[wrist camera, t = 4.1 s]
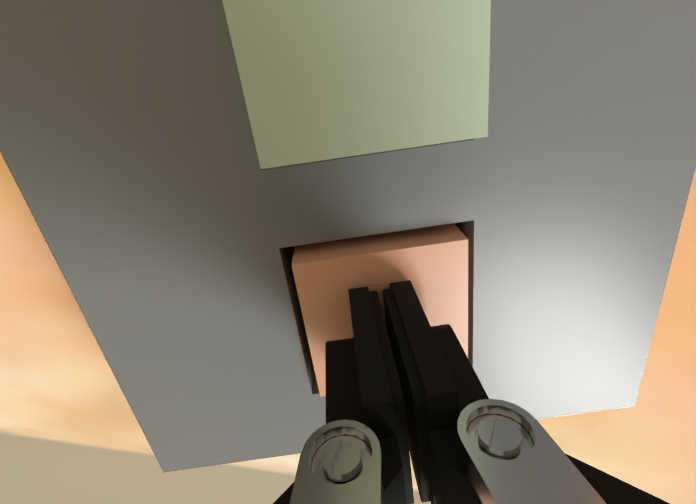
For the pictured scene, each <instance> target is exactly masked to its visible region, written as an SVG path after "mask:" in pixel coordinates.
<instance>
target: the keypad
mask: <svg viewBox="0 0 696 504" xmlns="http://www.w3.org/2000/svg"><path fill="white" fill-rule="evenodd" d="M0 152H1V154H2V156H3V158H4V160H5V162H6V164H7V166H8V168H9V170H10V172H11V173H12V175H13V177H14V179H15V181H16V183H17V185H18V187H19V189H20V191H21V193H22V195H23V197H24V199H25V201H26V203H27V205H28V207H29V209H30V211H31V213H32V215H33V217H34V219H35V221H36V223H37V225H38V227H39V229H40V230H41V232H42V234H43V236H44V238H45V240H46V242H47V244H48V246H49V248H50V250H51V252H52V254H53V256H54V258H55V260H56V262H57V264H58V266H59V268H60V270H61V272H62V274H63V276H64V278H65V280H66V282H67V284H68V285H69V287H70V289H71V291H72V293H73V295H74V297H75V299H76V301H77V303H78V305H79V307H80V309H81V311H82V313H83V315H84V317H85V319H86V321H87V323H88V325H89V327H90V329H91V331H92V333H93V335H94V337H95V339H96V340H97V342H98V344H99V346H100V348H101V350H102V352H103V354H104V356H105V358H106V360H107V362H108V364H109V366H110V368H111V370H112V372H113V374H114V376H115V378H116V380H117V382H118V384H119V386H120V388H121V390H122V392H123V394H124V396H125V397H126V399H127V401H128V403H129V405H130V407H131V409H132V411H133V413H134V415H135V417H136V419H137V421H138V423H139V425H140V427H141V429H142V431H143V433H144V435H145V437H146V439H147V441H148V443H149V445H150V447H151V449H152V451H153V452H154V454H155V456H156V458H157V460H158V462H159V464H160V466H161V468H162V470H163V472H170V471H177V470H184V469H190V468H198V467H205V466H212V465H220V464H227V463H234V462H241V461H248V460H255V459H262V458H269V457H276V456H284V455H291V454H298V453H301V452H302V449H303V447H304V444H305V442H306V441H307V440H308V438H309V437H310V436H311V434H312V433H313V432H315V431H316V430H317V429H319V428H320V427H321V426H323V425H325V424H326V396H322V397H320V393H319V389H318V384H317V380H316V375H315V370H314V366H313V361H312V357H311V352H310V347H309V343H308V338H307V334H306V329H305V324H304V320H303V315H302V311H301V306H300V302H299V297H298V292H297V288H296V283H295V279H294V274H293V269H292V259H293V254H294V248H295V246H298V245H305V244H312V243H319V242H326V241H333V240H340V239H347V238H354V237H361V236H368V235H375V234H382V233H389V232H396V231H403V230H410V229H417V228H424V227H431V226H438V225H445V224H452V223H454V224H455V225H456V226H457V227H458V229H459V230H460V231H461V232H462V233H463V234H464V235H465V236H466V237H467V238H468V359H469V361H470V363H471V365H472V367H473V369H474V371H475V373H476V375H477V376H478V378H479V380H480V382H481V384H482V386H483V388H484V390H485V392H486V394H487V396H488V398H489V399H498V400H504V401H507V402H510V403H513V404H516V405H518V406H519V407H521V408H523V409H525V410H526V411H527V412H529V413H530V414H531V415H532V416H533V417H534V418H535V419H536V420H539V419H546V418H553V417H560V416H567V415H574V414H581V413H588V412H595V411H602V410H610V409H617V408H624V407H631V406H635V403H636V399H637V395H638V391H639V387H640V383H641V379H642V375H643V371H644V367H645V363H646V359H647V355H648V352H649V348H650V344H651V340H652V336H653V332H654V328H655V324H656V320H657V316H658V312H659V308H660V304H661V300H662V297H663V293H664V289H665V285H666V281H667V277H668V273H669V269H670V265H671V261H672V257H673V253H674V249H675V246H676V242H677V238H678V234H679V230H680V226H681V222H682V218H683V214H684V210H685V206H686V202H687V198H688V194H689V191H690V187H691V183H692V179H693V175H694V171H695V167H696V0H491V18H490V62H489V105H488V137H481V138H474V139H468V140H461V141H454V142H447V143H440V144H433V145H426V146H419V147H412V148H405V149H398V150H391V151H384V152H377V153H370V154H364V155H357V156H350V157H343V158H336V159H329V160H322V161H315V162H308V163H301V164H294V165H287V166H280V167H273V168H267V169H261V168H260V163H259V159H258V155H257V150H256V146H255V141H254V137H253V133H252V128H251V124H250V120H249V115H248V111H247V107H246V102H245V98H244V93H243V89H242V85H241V80H240V76H239V72H238V67H237V63H236V58H235V54H234V50H233V45H232V41H231V37H230V32H229V28H228V24H227V19H226V15H225V10H224V6H223V2H222V0H0Z"/></svg>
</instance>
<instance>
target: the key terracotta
mask: <svg viewBox="0 0 696 504" xmlns="http://www.w3.org/2000/svg"><path fill="white" fill-rule="evenodd" d="M292 269H293V274H294V279H295V283H296V288H297V292H298V297H299V302H300V306H301V311H302V315H303V320H304V324H305V329H306V334H307V338H308V343H309V347H310V352H311V357H312V361H313V366H314V370H315V375H316V380H317V384H318V389H319V393H320V397H322V396H326V371H325V344H326V342H327V341H334V340H341V339H348V338H354V335H353V327H352V318H351V310H350V301H349V293H348V289H353V288H360V287H367V286H368V289H369V291H376V290H377V293H378V297H379V301H380V305H381V309H382V313H383V317H384V321H385V325H386V318H385V309H384V299H383V289H390V283H394V282H401V281H408V280H410V281H411V283H412V285H413V287H414V290H415V292H416V294H417V297H418V299H419V301H420V303H421V306H422V308H423V310H424V312H425V315H426V317H427V319H428V322H429V324H430V326H438V325H445V324H449V325H450V326H451V327H452V329H453V331H454V333H455V334H456V336H457V338H458V340H459V342H460V344H461V346H462V348H463V350H464V352H465V354H466V355H467V357H468V238H467V237H466V236H465V235H464V234H463V233H462V232H461V231H460V230H459V229H458V227H457V226H456V225H455V224H454V223H452V224H445V225H438V226H431V227H424V228H417V229H410V230H403V231H396V232H389V233H382V234H375V235H368V236H361V237H354V238H347V239H340V240H333V241H326V242H319V243H312V244H305V245H298V246H295V248H294V254H293V259H292ZM386 329H387V327H386Z"/></svg>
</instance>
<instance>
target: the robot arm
mask: <svg viewBox="0 0 696 504" xmlns="http://www.w3.org/2000/svg"><path fill="white" fill-rule="evenodd" d="M348 293H349V301H350V310H351V318H352V327H353V335H354V338H348V339H341V340H334V341H327V342H326V344H325V371H326V424H325V425H323V426H321V427H320V428H319V429H317V430H316V431H315V432H313V433H312V434H311V436H310V437H309V438H308V440H307V441H306V442H305V444H304V447H303V449H302V452H301V455H300V459H299V464H298V468H297V473H296V477H295V482H294V483H293V484H292V485H291V486H290V487H289V488H288V489H287V490H286V491H285V492H284V493H283V494H282V495H281V496H280V497H279V498H278V499H277V500H276V501H275V502H274V503H273V504H413V503H414V498H413V487H412V476H411V466H410V456H411V460H412V464H413V469H414V473H415V477H416V482H417V486H418V490H419V494H420V498H421V501H422V502H427V501H431V504H669V503H667V502H665V501H663V500H661V499H659V498H657V497H655V496H653V495H651V494H648V493H646V492H644V491H642V490H640V489H638V488H636V487H634V486H632V485H630V484H628V483H625V482H623V481H621V480H619V479H617V478H615V477H613V476H611V475H609V474H607V473H605V472H602V471H600V470H598V469H596V468H594V467H592V466H590V465H588V464H586V463H584V462H582V461H579V460H577V459H575V458H573V457H571V456H569V455H567V454H565V453H564V452H563V451H562V450H561V449H560V447H559V446H558V445H557V444H556V443H555V441H554V440H553V439H552V438H551V437H550V436H549V434H548V433H547V432H546V431H545V430H544V428H543V427H542V426H541V425H540V424H539V422H538V421H537V420H536V419H535V418H534V417H533V416H532V415H531V414H530V413H529V412H527V411H526V410H525V409H523V408H521V407H519V406H518V405H516V404H513V403H510V402H507V401H504V400H498V399H489V398H488V396H487V394H486V392H485V390H484V388H483V386H482V384H481V382H480V380H479V378H478V376H477V375H476V373H475V371H474V369H473V367H472V365H471V363H470V361H469V359H468V357H467V355H466V354H465V352H464V350H463V348H462V346H461V344H460V342H459V340H458V338H457V336H456V334H455V333H454V331H453V329H452V327H451V326H450V325H449V324H445V325H438V326H430V324H429V322H428V319H427V317H426V315H425V312H424V310H423V308H422V306H421V303H420V301H419V299H418V297H417V294H416V292H415V290H414V287H413V285H412V283H411V281H410V280H408V281H401V282H394V283H390V289H383V299H384V309H385V318H386V325H385V321H384V317H383V313H382V309H381V305H380V301H379V297H378V293H377V290H376V291H369V289H368V286H367V287H360V288H353V289H348ZM386 327H387V329H386ZM409 451H410V455H409Z"/></svg>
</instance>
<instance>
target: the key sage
mask: <svg viewBox="0 0 696 504" xmlns="http://www.w3.org/2000/svg"><path fill="white" fill-rule="evenodd" d="M222 2H223V6H224V10H225V15H226V19H227V24H228V28H229V32H230V37H231V41H232V45H233V50H234V54H235V58H236V63H237V67H238V72H239V76H240V80H241V85H242V89H243V93H244V98H245V102H246V107H247V111H248V115H249V120H250V124H251V128H252V133H253V137H254V141H255V146H256V150H257V155H258V159H259V163H260V168H261V169H267V168H273V167H280V166H287V165H294V164H301V163H308V162H315V161H322V160H329V159H336V158H343V157H350V156H357V155H364V154H370V153H377V152H384V151H391V150H398V149H405V148H412V147H419V146H426V145H433V144H440V143H447V142H454V141H461V140H468V139H474V138H481V137H488V105H489V62H490V18H491V0H222Z"/></svg>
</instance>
